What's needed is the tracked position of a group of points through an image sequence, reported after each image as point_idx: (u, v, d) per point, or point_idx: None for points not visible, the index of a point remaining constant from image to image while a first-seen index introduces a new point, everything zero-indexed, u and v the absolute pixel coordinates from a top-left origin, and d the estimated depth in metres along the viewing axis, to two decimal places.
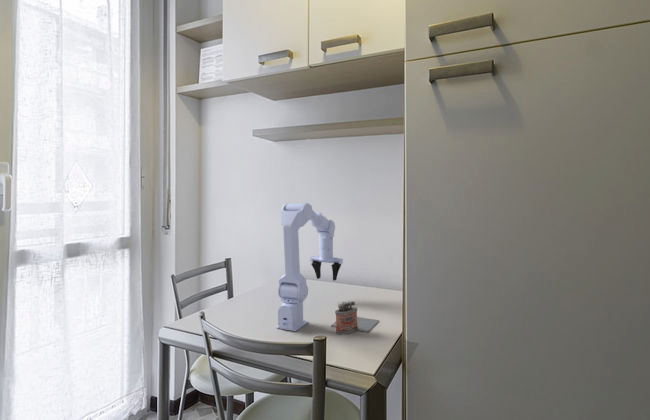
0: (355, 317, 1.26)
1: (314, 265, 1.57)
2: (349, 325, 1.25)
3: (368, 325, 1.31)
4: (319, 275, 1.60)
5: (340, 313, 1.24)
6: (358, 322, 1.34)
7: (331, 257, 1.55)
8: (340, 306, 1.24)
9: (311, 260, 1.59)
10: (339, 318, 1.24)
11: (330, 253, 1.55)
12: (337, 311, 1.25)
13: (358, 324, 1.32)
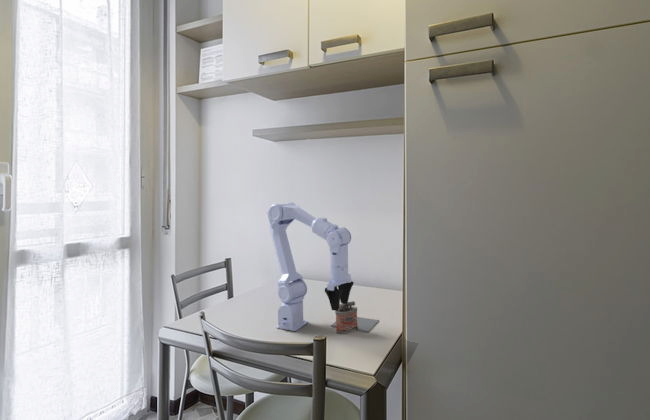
0: (355, 317, 1.26)
1: None
2: (349, 325, 1.25)
3: (368, 325, 1.31)
4: (344, 300, 1.24)
5: (340, 313, 1.24)
6: (358, 322, 1.34)
7: (334, 279, 1.18)
8: (340, 306, 1.24)
9: None
10: (339, 318, 1.24)
11: (332, 273, 1.18)
12: (337, 311, 1.25)
13: (358, 324, 1.32)
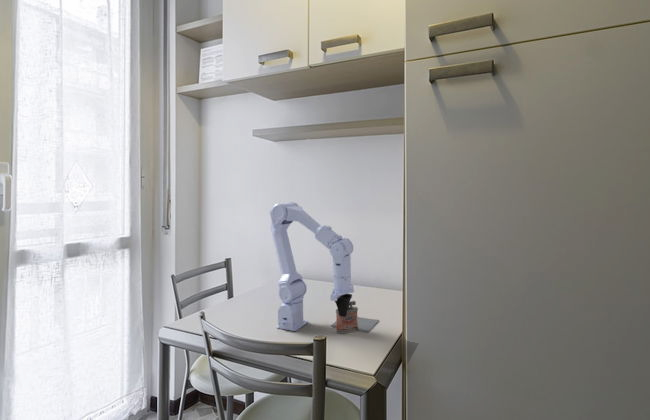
0: (355, 317, 1.26)
1: None
2: (349, 324, 1.25)
3: (368, 325, 1.31)
4: (343, 312, 1.22)
5: None
6: (358, 322, 1.34)
7: (337, 289, 1.20)
8: None
9: None
10: (339, 316, 1.24)
11: (335, 283, 1.20)
12: None
13: (358, 324, 1.32)
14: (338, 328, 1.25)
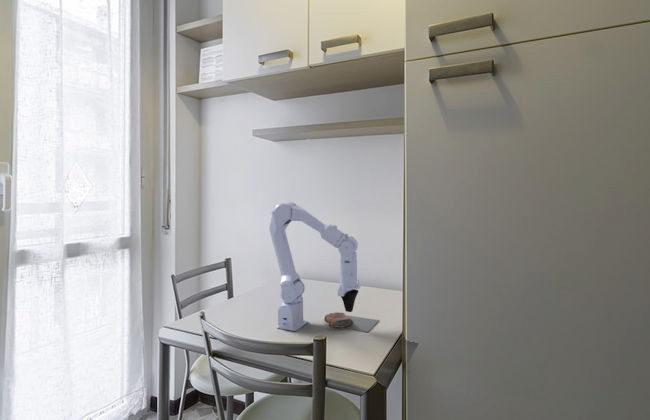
0: (345, 315, 1.33)
1: None
2: (340, 317, 1.30)
3: (368, 325, 1.31)
4: None
5: (327, 315, 1.33)
6: (358, 322, 1.34)
7: (344, 285, 1.25)
8: (326, 315, 1.36)
9: None
10: (328, 317, 1.32)
11: (342, 279, 1.26)
12: None
13: (358, 324, 1.32)
14: (331, 322, 1.28)
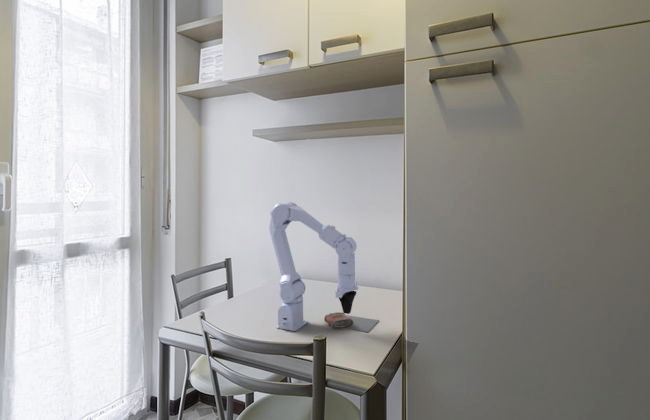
0: (344, 315, 1.33)
1: None
2: (340, 317, 1.30)
3: (368, 325, 1.31)
4: None
5: (327, 315, 1.33)
6: (358, 322, 1.34)
7: (341, 286, 1.24)
8: (326, 315, 1.36)
9: None
10: (328, 317, 1.32)
11: (340, 281, 1.24)
12: None
13: (358, 324, 1.32)
14: (331, 322, 1.28)
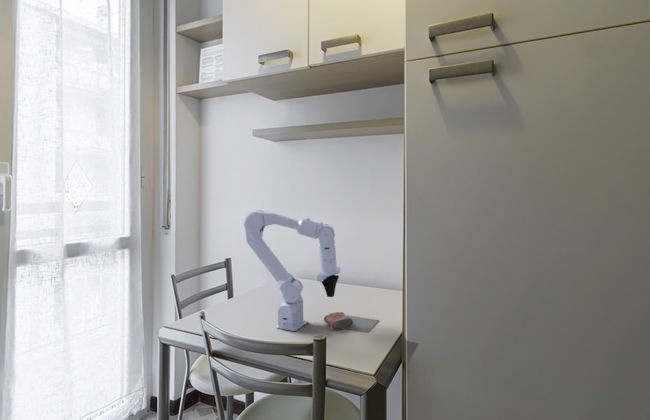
0: (344, 315, 1.33)
1: None
2: (339, 317, 1.30)
3: (368, 325, 1.31)
4: None
5: (327, 315, 1.33)
6: (358, 322, 1.34)
7: (323, 271, 1.30)
8: None
9: None
10: (327, 317, 1.32)
11: (322, 266, 1.30)
12: None
13: (358, 324, 1.32)
14: (331, 323, 1.28)
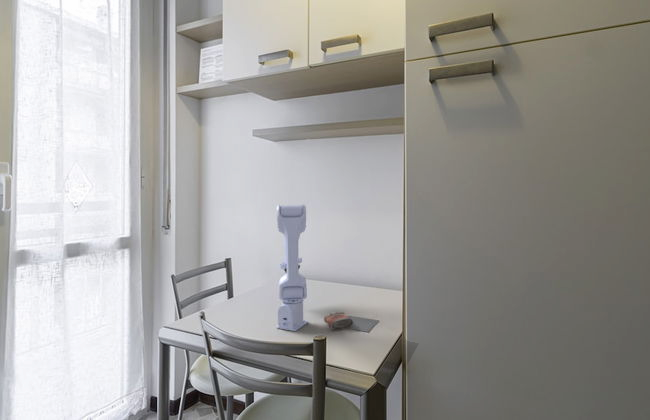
0: (344, 315, 1.33)
1: None
2: (339, 317, 1.30)
3: (368, 325, 1.31)
4: None
5: (327, 315, 1.33)
6: (358, 322, 1.34)
7: None
8: None
9: None
10: (327, 317, 1.32)
11: (285, 256, 1.49)
12: None
13: (358, 324, 1.32)
14: (331, 323, 1.28)
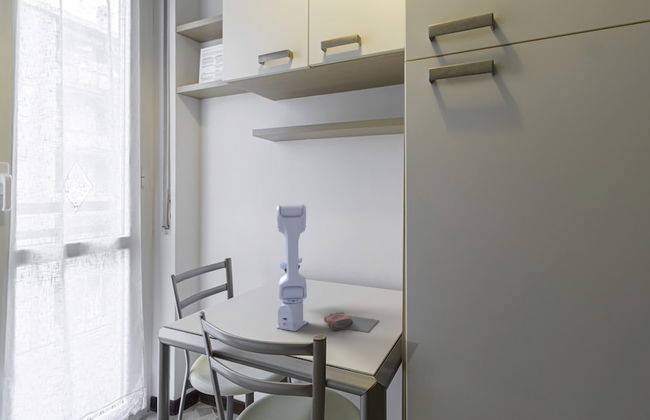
0: (344, 315, 1.33)
1: None
2: (339, 317, 1.30)
3: (368, 325, 1.31)
4: None
5: (327, 315, 1.33)
6: (358, 322, 1.34)
7: None
8: None
9: None
10: (327, 317, 1.32)
11: (285, 256, 1.49)
12: None
13: (358, 324, 1.32)
14: (331, 323, 1.28)
